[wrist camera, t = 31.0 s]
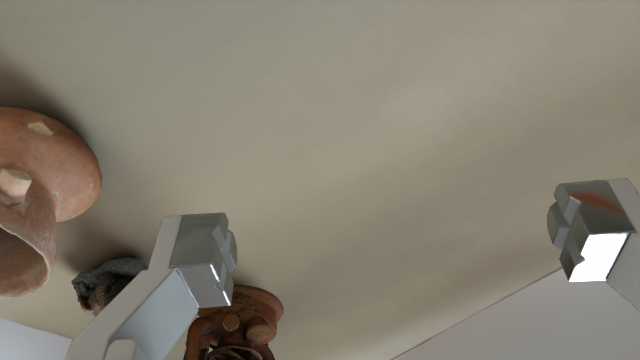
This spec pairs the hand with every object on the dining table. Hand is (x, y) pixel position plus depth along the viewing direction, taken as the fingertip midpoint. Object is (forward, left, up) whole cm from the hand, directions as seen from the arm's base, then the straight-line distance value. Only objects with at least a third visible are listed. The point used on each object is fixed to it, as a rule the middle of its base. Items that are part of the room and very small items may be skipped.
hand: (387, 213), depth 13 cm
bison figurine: (+34, +43, -31) cm, 63 cm away
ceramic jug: (+34, +22, -31) cm, 51 cm away
